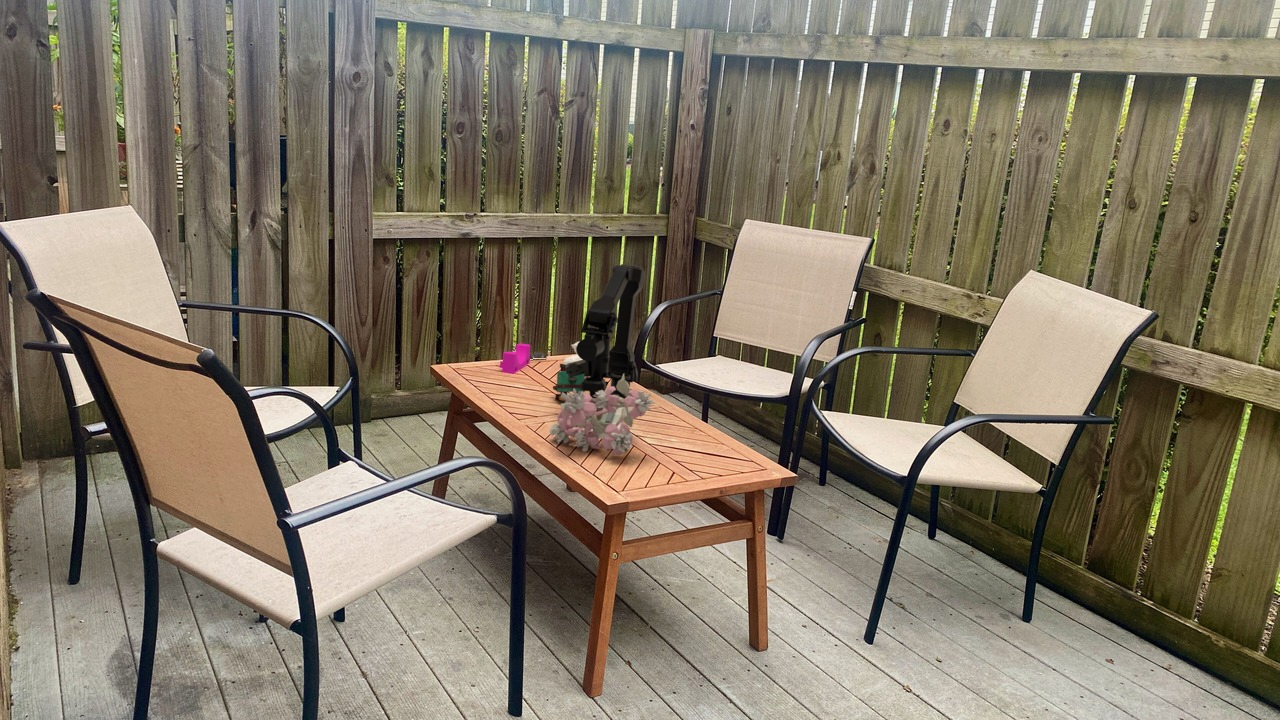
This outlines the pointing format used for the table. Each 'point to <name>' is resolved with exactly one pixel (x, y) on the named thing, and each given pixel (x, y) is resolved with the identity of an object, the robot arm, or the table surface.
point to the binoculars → (567, 383)
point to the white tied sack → (573, 357)
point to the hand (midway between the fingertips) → (594, 408)
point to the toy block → (516, 359)
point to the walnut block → (598, 411)
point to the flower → (587, 415)
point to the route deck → (606, 419)
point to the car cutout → (538, 356)
